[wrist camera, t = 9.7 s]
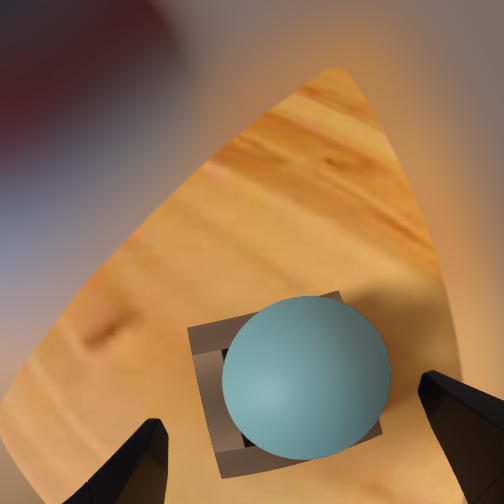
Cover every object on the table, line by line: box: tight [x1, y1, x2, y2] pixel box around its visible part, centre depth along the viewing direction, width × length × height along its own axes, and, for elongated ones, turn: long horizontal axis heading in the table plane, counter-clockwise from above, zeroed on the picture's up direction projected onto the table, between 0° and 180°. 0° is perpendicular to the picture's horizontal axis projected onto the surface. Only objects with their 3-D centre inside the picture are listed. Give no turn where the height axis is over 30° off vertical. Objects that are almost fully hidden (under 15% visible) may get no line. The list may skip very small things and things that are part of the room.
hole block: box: [187, 291, 382, 479], centre depth 15 cm, size 8×8×4 cm
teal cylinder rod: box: [222, 296, 391, 460], centre depth 11 cm, size 4×4×13 cm
